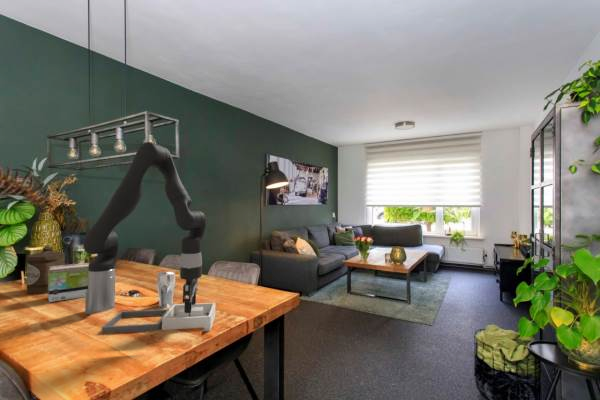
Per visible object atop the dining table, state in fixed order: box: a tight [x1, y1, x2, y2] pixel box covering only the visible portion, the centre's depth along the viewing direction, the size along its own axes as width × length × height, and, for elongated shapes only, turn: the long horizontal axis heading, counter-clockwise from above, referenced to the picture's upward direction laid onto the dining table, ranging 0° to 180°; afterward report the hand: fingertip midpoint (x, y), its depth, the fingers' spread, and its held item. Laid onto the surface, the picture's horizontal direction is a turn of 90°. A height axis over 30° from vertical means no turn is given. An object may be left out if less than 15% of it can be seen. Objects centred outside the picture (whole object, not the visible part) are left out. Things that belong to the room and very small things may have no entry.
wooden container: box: [26, 245, 66, 295], centre depth 150 cm, size 15×15×22 cm
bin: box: [161, 302, 216, 332], centre depth 110 cm, size 16×15×5 cm
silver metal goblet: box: [156, 270, 176, 309], centre depth 125 cm, size 7×7×15 cm
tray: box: [101, 308, 170, 334], centre depth 107 cm, size 18×15×3 cm
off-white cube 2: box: [190, 307, 204, 317], centre depth 110 cm, size 4×4×4 cm
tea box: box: [47, 262, 89, 303], centre depth 139 cm, size 15×10×15 cm
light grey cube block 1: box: [177, 308, 191, 318], centre depth 109 cm, size 4×4×4 cm
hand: (190, 308), depth 110 cm, fingers open, 8 cm apart
